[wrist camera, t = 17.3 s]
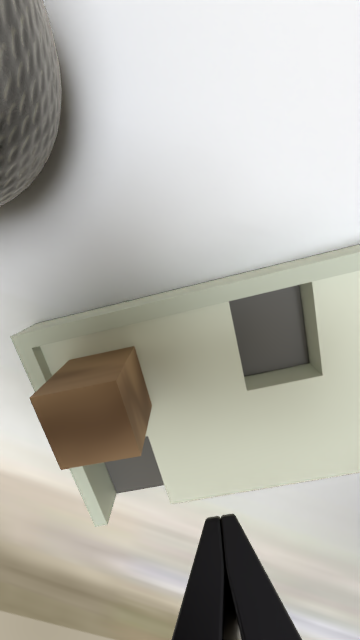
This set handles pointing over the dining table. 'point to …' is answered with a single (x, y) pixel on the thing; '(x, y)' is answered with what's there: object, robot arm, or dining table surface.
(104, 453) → the block
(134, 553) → the dining table surface
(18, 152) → the planter
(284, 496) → the dining table surface
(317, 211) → the dining table surface
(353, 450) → the trap tray
